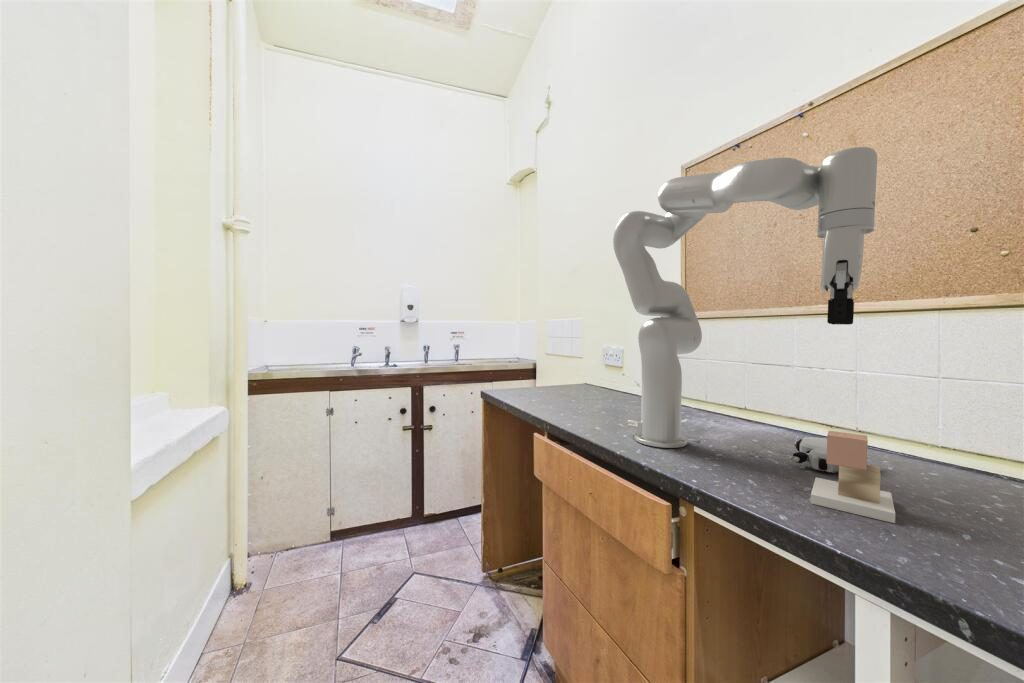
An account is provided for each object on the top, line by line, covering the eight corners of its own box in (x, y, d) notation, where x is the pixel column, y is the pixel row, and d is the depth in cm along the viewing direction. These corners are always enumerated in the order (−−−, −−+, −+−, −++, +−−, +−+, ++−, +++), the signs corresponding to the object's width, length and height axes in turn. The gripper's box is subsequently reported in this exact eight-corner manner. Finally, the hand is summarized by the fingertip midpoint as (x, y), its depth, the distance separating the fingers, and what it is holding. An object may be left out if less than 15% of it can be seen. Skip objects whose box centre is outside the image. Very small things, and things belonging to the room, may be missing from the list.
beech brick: (838, 494, 65) (839, 465, 65) (838, 487, 68) (839, 459, 68) (879, 503, 61) (880, 473, 61) (878, 495, 64) (879, 466, 64)
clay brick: (826, 463, 66) (827, 435, 66) (827, 457, 69) (828, 430, 69) (866, 470, 62) (867, 440, 62) (866, 464, 65) (867, 435, 65)
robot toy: (863, 488, 73) (867, 463, 84) (864, 465, 73) (867, 442, 84) (784, 471, 82) (797, 450, 93) (785, 450, 82) (797, 432, 92)
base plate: (810, 503, 65) (810, 494, 65) (815, 485, 72) (815, 477, 72) (895, 523, 58) (895, 513, 58) (890, 501, 66) (891, 492, 66)
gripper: (821, 237, 77) (817, 324, 78) (813, 218, 64) (809, 323, 65) (872, 231, 72) (868, 324, 73) (876, 210, 59) (870, 323, 60)
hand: (840, 324), depth 69 cm, fingers open, 9 cm apart
